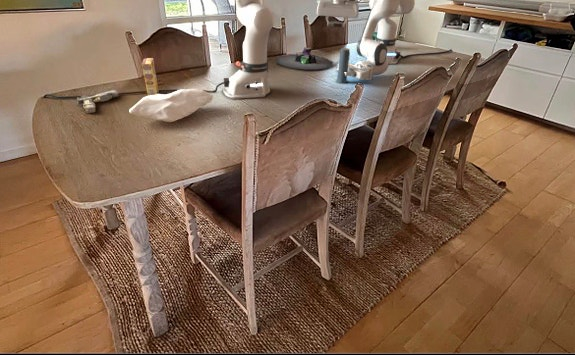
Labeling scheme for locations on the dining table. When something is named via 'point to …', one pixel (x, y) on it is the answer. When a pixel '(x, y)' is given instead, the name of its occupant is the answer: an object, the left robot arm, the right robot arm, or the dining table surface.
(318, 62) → the round decorative tray
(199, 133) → the dining table surface
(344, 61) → the grey tall cylinder
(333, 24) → the lid
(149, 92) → the candy box
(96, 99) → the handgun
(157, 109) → the crumpled cloth
